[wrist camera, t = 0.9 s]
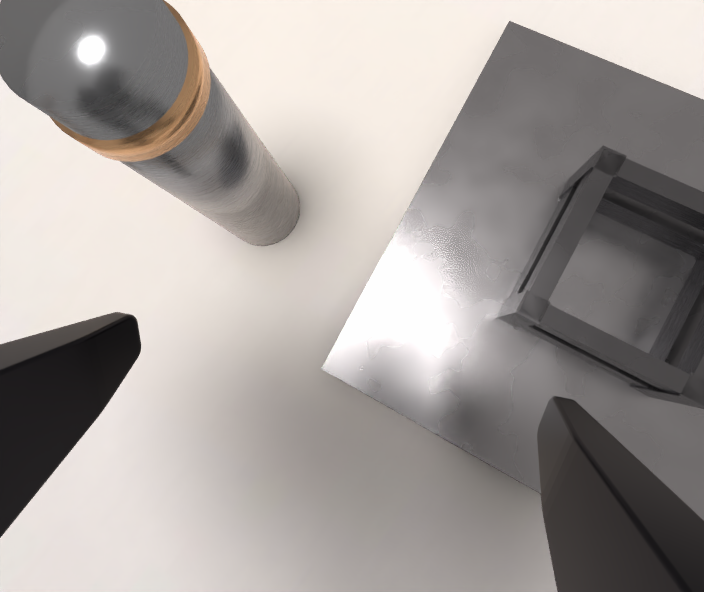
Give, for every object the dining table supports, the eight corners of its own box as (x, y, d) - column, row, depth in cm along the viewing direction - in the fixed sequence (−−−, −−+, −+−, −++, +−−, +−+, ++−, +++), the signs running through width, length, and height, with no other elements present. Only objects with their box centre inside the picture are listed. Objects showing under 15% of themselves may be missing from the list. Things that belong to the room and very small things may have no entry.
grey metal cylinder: (261, 265, 24) (61, 154, 10) (209, 210, 24) (-48, 34, 10) (319, 207, 24) (200, 16, 10) (265, 154, 24) (82, -97, 10)
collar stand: (713, 589, 20) (804, 661, 15) (323, 367, 23) (304, 374, 18) (906, 196, 20) (1047, 156, 16) (505, 31, 23) (530, -42, 19)
